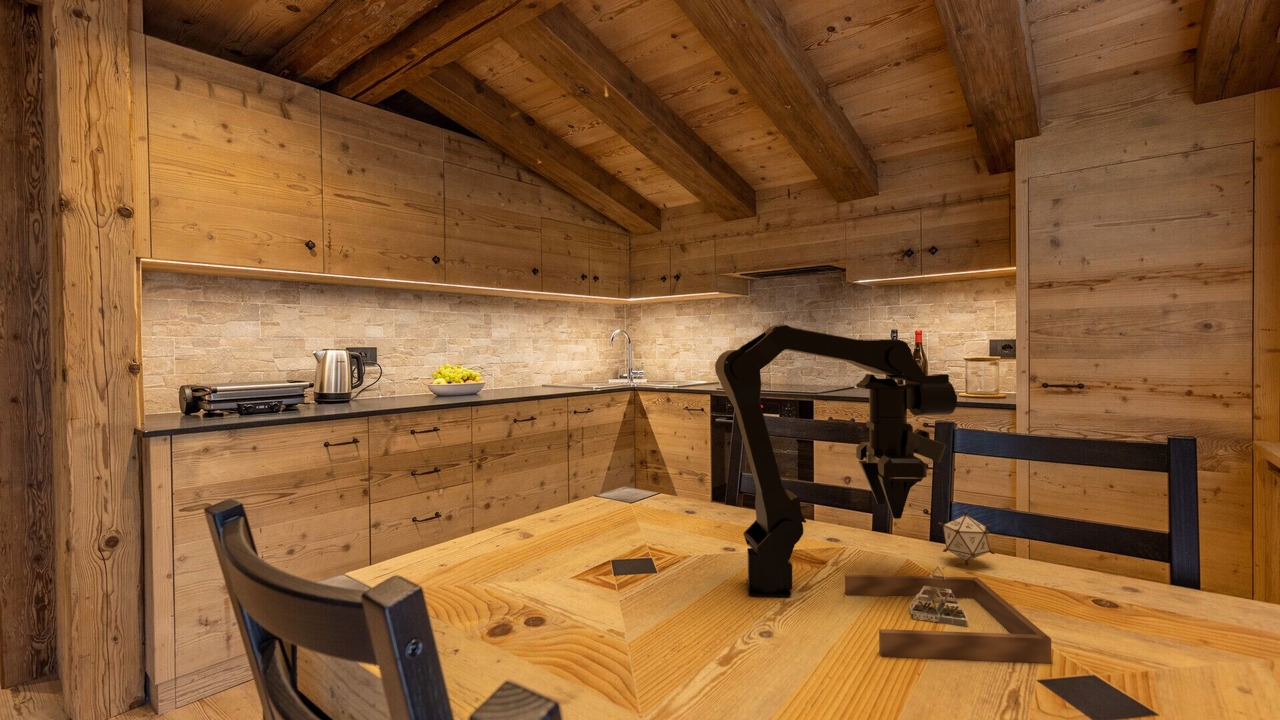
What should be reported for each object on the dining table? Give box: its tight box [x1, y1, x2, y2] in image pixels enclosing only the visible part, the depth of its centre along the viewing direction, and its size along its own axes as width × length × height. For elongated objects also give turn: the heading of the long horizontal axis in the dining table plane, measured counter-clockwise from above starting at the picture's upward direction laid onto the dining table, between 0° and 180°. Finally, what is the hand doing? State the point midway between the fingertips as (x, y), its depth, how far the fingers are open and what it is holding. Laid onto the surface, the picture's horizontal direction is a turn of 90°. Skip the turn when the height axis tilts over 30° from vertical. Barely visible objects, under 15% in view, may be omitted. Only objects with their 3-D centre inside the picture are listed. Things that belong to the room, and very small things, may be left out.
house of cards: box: [909, 565, 969, 627], centre depth 92 cm, size 9×9×8 cm
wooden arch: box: [844, 573, 1052, 664], centre depth 88 cm, size 20×21×3 cm
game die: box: [938, 509, 996, 566], centre depth 111 cm, size 9×8×10 cm
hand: (888, 511), depth 103 cm, fingers open, 9 cm apart
